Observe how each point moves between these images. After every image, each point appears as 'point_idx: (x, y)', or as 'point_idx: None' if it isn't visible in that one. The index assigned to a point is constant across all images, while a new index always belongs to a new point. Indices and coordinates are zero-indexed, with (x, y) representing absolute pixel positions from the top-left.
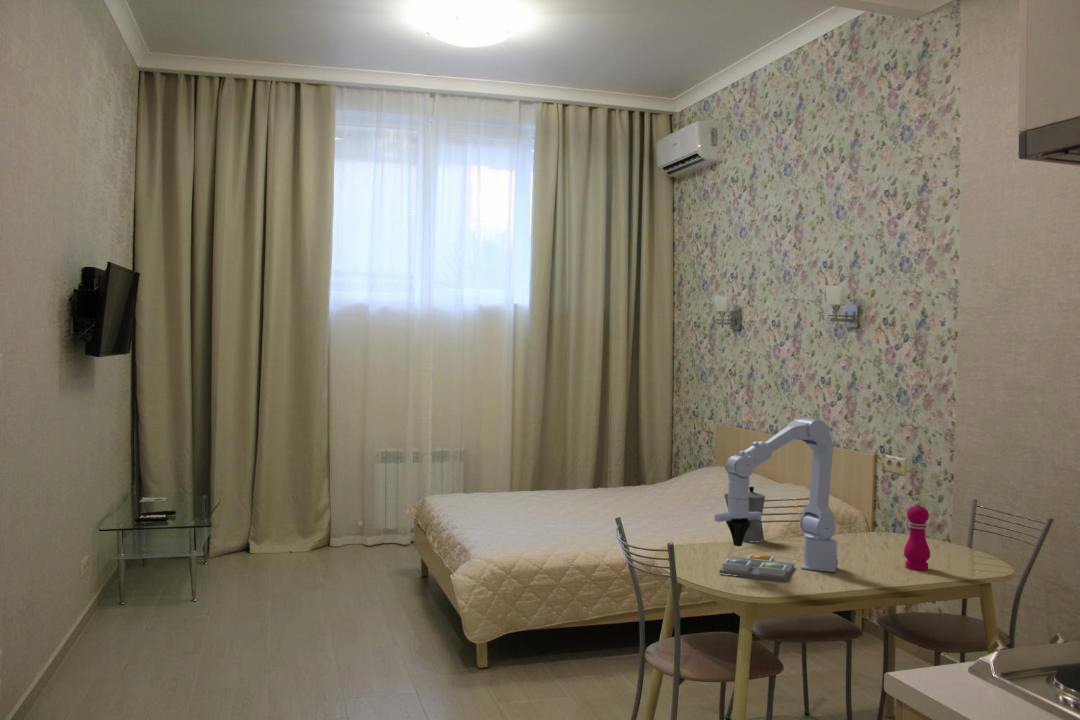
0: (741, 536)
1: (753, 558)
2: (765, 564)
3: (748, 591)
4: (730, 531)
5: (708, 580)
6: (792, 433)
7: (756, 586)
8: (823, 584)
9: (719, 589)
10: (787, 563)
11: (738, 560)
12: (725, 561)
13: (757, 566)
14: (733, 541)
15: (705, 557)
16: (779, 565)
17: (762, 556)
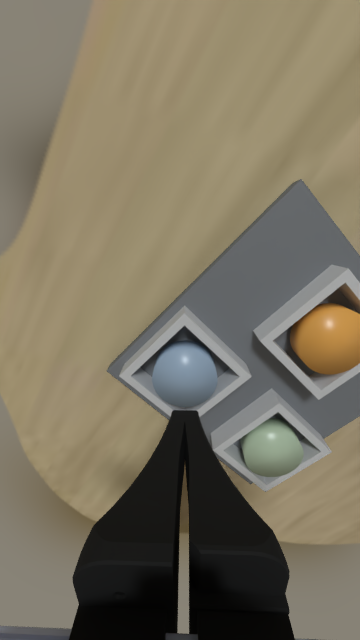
0: (188, 498)
1: (296, 338)
2: (245, 451)
3: (106, 501)
4: (145, 466)
5: (47, 406)
6: None
7: None
8: (327, 505)
9: (43, 474)
10: None
11: (185, 386)
12: (142, 359)
13: (273, 363)
14: (169, 423)
15: (209, 61)
16: (280, 474)
17: (333, 358)
